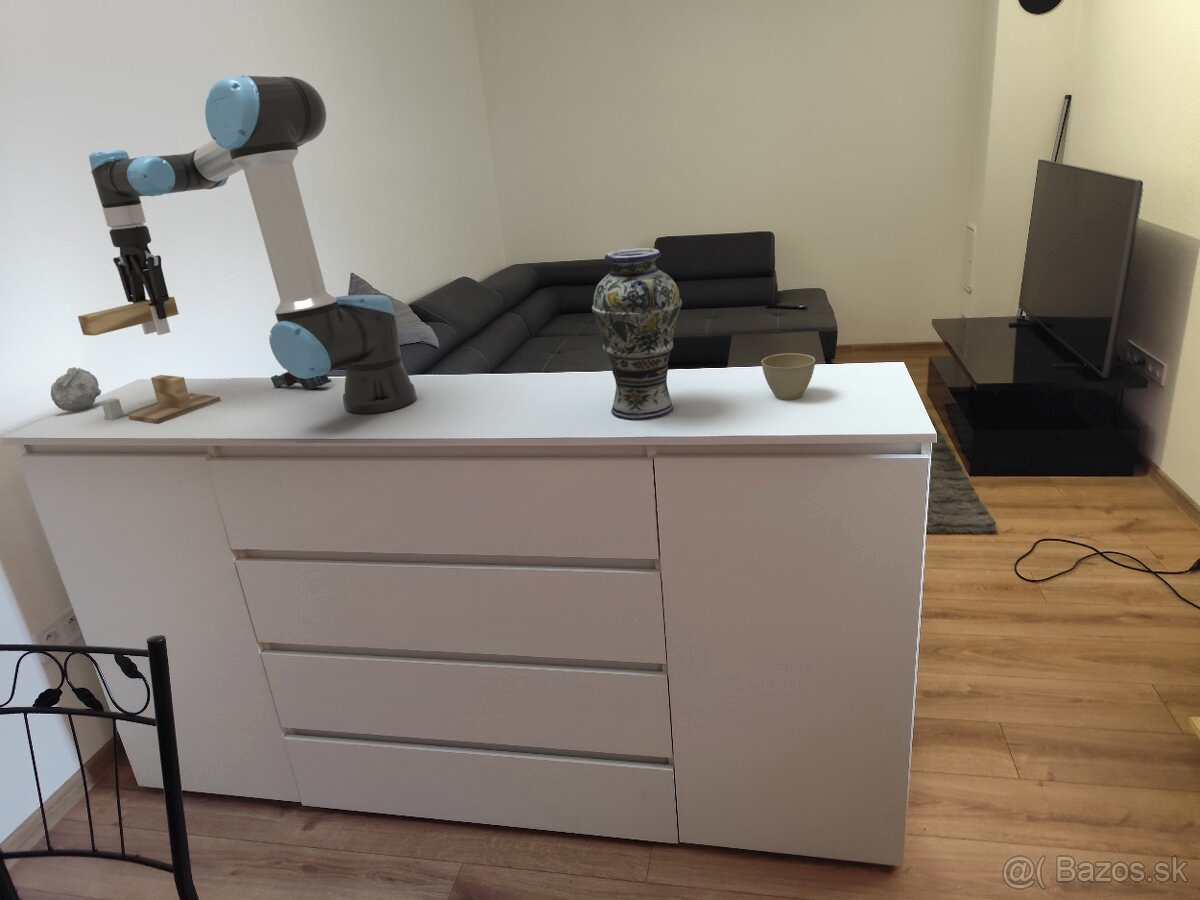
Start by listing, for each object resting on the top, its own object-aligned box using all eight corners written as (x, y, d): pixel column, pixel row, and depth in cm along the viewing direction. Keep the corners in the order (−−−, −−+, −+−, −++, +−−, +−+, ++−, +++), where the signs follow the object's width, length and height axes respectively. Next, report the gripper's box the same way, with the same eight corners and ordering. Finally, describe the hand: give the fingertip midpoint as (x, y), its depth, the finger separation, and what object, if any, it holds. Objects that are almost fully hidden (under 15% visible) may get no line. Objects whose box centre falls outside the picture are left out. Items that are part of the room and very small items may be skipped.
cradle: (187, 394, 202) (183, 378, 200) (112, 420, 186) (107, 402, 185) (180, 393, 203) (176, 377, 202) (104, 419, 188) (99, 401, 186)
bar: (178, 314, 194) (174, 296, 192) (94, 335, 178) (88, 316, 176) (167, 314, 196) (162, 296, 194) (83, 335, 179) (77, 316, 178)
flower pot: (769, 386, 172) (769, 352, 169) (820, 389, 167) (820, 354, 165) (755, 402, 163) (755, 366, 161) (808, 405, 159) (808, 368, 156)
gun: (256, 328, 199) (302, 311, 192) (285, 395, 203) (332, 381, 197) (247, 330, 197) (294, 314, 190) (278, 398, 201) (324, 384, 194)
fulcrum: (221, 400, 194) (213, 369, 191) (158, 423, 181) (148, 389, 179) (192, 397, 199) (184, 366, 196) (129, 419, 186) (119, 386, 183)
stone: (86, 402, 202) (73, 361, 198) (110, 402, 201) (98, 361, 197) (55, 415, 193) (41, 373, 190) (81, 415, 192) (67, 372, 188)
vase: (661, 390, 175) (653, 241, 164) (702, 413, 160) (696, 250, 149) (586, 406, 169) (573, 252, 159) (621, 430, 154) (609, 263, 144)
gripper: (168, 222, 182) (196, 330, 191) (119, 225, 191) (148, 328, 199) (136, 227, 176) (166, 338, 185) (87, 230, 185) (118, 336, 193)
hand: (157, 333), depth 192 cm, fingers closed on bar, 4 cm apart
